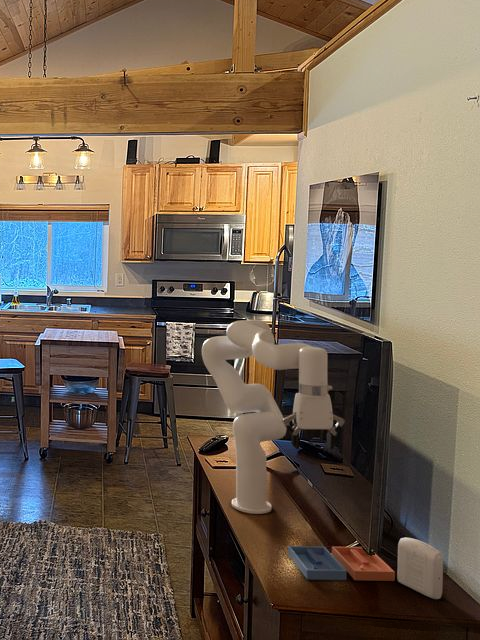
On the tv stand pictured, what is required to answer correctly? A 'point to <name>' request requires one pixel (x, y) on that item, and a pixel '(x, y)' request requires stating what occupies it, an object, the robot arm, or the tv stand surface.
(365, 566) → the terracotta spoon
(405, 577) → the photo printer
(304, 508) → the tv stand surface
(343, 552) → the terracotta tray
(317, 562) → the blue spoon
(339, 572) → the blue tray
